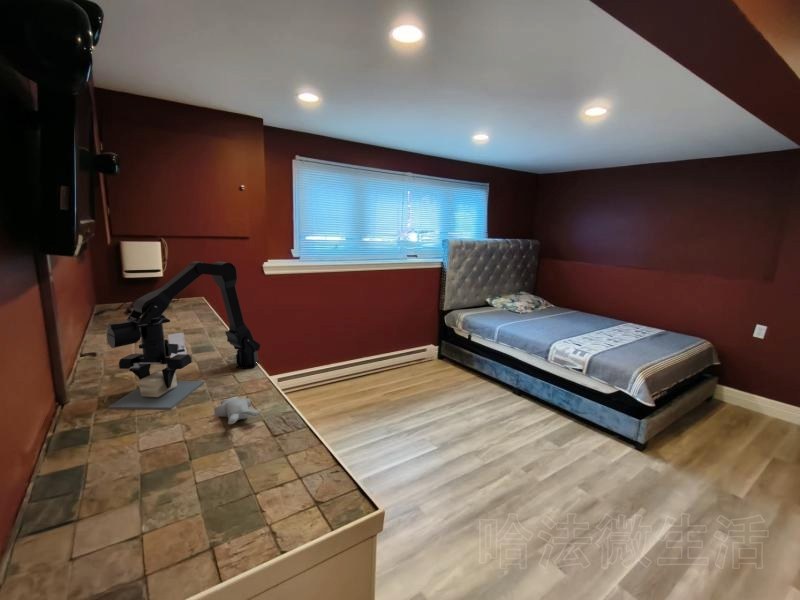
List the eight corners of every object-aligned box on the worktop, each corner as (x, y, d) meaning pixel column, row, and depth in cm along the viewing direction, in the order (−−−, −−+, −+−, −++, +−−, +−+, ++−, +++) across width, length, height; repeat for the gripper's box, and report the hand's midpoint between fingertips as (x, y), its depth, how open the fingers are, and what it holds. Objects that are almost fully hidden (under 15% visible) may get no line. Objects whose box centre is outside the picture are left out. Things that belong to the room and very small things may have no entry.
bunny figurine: (244, 390, 107) (262, 402, 96) (246, 406, 108) (264, 421, 96) (209, 399, 101) (224, 414, 90) (211, 417, 102) (226, 434, 90)
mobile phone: (183, 332, 159) (186, 347, 138) (185, 345, 160) (188, 362, 139) (167, 334, 156) (168, 350, 135) (169, 347, 157) (170, 365, 136)
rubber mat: (204, 382, 121) (204, 381, 121) (171, 409, 103) (170, 407, 103) (150, 382, 121) (150, 380, 121) (107, 408, 103) (107, 406, 103)
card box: (157, 397, 108) (155, 381, 107) (141, 395, 108) (138, 380, 107) (177, 385, 115) (175, 370, 114) (161, 384, 116) (159, 369, 115)
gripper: (198, 331, 116) (203, 377, 120) (140, 331, 116) (146, 376, 120) (177, 342, 106) (183, 392, 109) (113, 341, 106) (121, 391, 109)
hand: (159, 387), depth 112 cm, fingers closed on card box, 6 cm apart
